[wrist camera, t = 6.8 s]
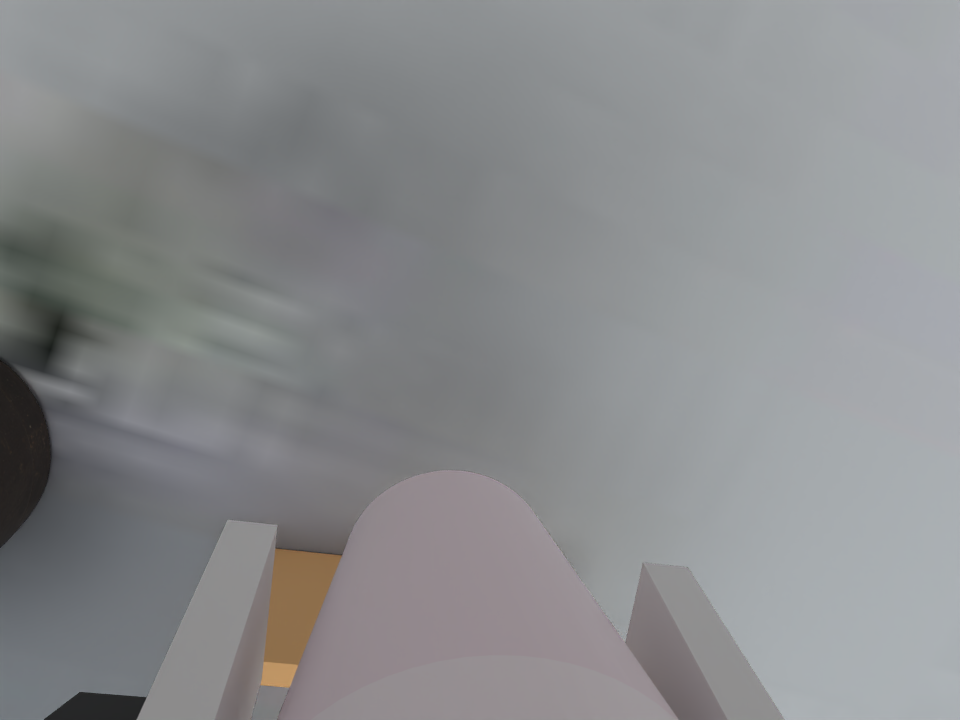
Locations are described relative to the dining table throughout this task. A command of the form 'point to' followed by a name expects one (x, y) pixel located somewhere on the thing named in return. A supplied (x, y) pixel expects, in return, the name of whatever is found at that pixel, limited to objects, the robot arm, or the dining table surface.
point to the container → (20, 452)
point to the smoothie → (463, 619)
